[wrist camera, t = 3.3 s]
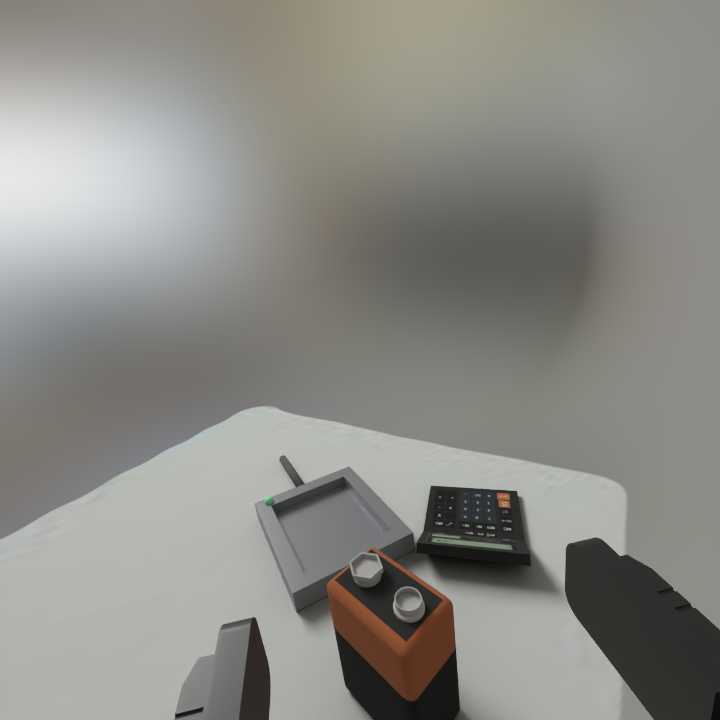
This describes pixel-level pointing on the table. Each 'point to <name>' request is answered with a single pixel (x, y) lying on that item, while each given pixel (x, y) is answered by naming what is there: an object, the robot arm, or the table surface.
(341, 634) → the battery
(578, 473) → the table surface
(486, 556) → the calculator
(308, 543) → the charging cradle
